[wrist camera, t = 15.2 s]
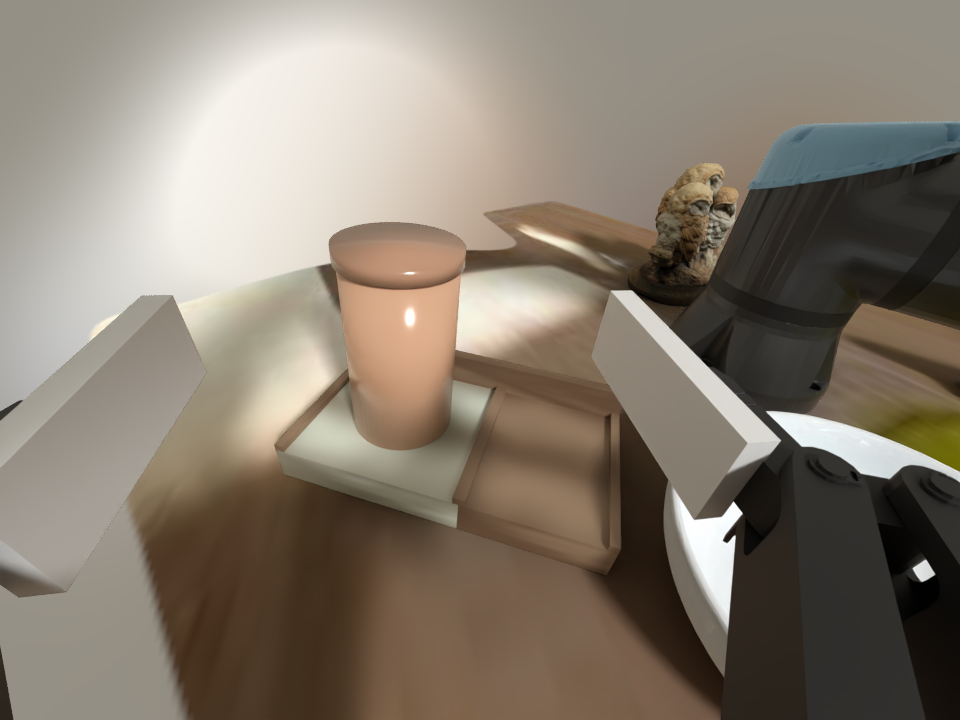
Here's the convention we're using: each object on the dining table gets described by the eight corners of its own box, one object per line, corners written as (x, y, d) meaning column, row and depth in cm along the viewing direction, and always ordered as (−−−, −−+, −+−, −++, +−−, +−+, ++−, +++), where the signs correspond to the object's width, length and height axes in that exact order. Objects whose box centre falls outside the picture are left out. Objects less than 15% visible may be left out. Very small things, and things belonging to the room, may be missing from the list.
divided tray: (369, 374, 37) (364, 329, 34) (608, 435, 33) (626, 389, 30) (283, 474, 27) (266, 422, 24) (606, 575, 23) (632, 528, 20)
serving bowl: (571, 507, 27) (596, 437, 23) (792, 453, 33) (843, 391, 29) (915, 1142, 11) (1191, 1277, 7) (1225, 818, 17) (1471, 792, 13)
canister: (383, 373, 33) (373, 215, 25) (466, 397, 31) (482, 236, 24) (330, 434, 27) (297, 250, 20) (429, 466, 26) (435, 281, 18)
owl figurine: (684, 320, 51) (744, 179, 41) (606, 287, 58) (641, 159, 48) (733, 286, 62) (790, 167, 52) (662, 262, 68) (700, 152, 59)
